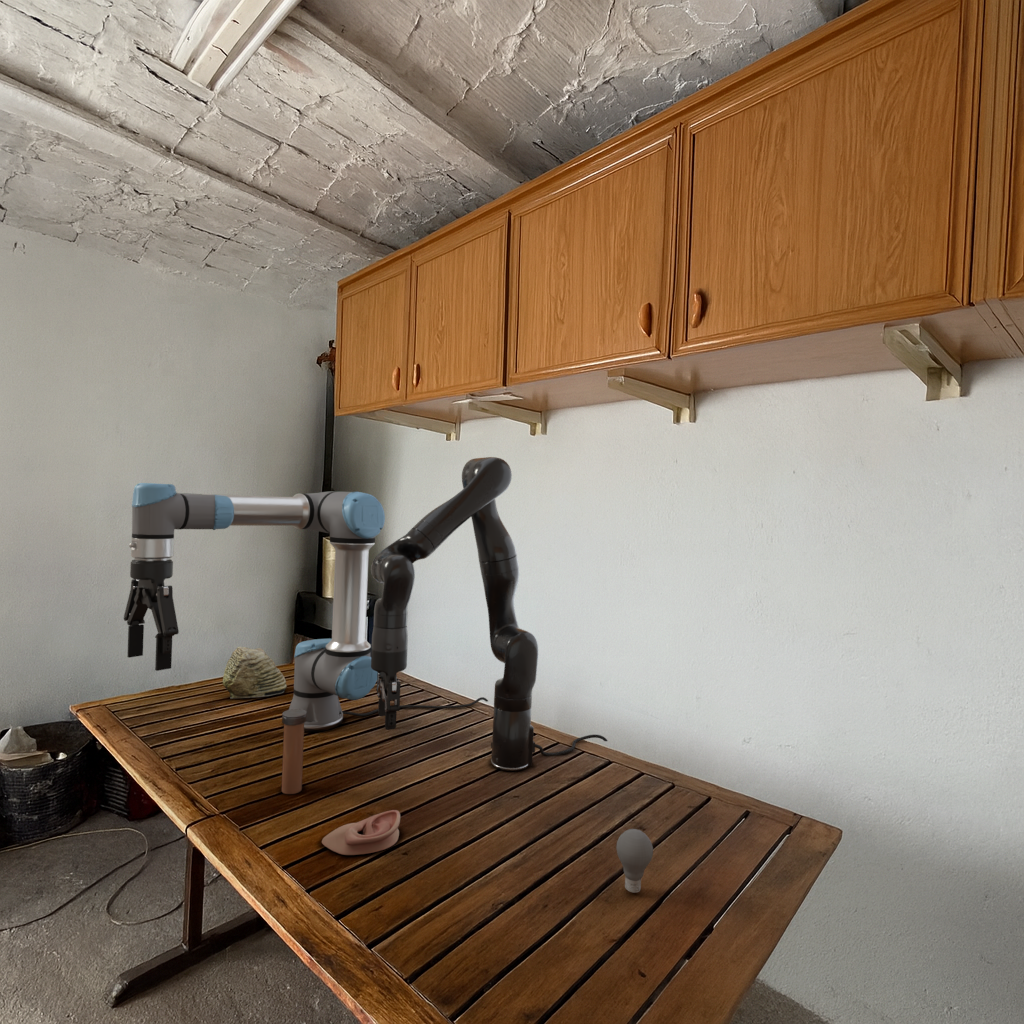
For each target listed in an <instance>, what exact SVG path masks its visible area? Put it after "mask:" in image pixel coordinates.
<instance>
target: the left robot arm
mask: <svg viewBox="0 0 1024 1024" xmlns="http://www.w3.org/2000/svg"><path fill="white" fill-rule="evenodd" d="M385 515H386V513H385V511H384V508H383V505H382V503H381V502H380V501H379V500H378V498H377V497H375V495H373V494H370V493H367V492H363V491H362V492H361V491H337V490H336V491H335V490H333V491H332V490H330V491H321V492H311V493H295V494H294V495H293V496H276V495H275V496H274V495H273V496H272V495H248V494H247V495H246V494H244V495H243V494H220V493H219V494H218V493H217V494H216V493H215V494H214V493H189V492H187V493H186V492H177V491H176V486H175V485H174V484H173V483H152V482H139V483H137V484H136V485H135V486H134V488H133V492H132V501H131V520H132V521H131V542H130V543H128V547H129V548H130V549H131V550H130V556H131V558H133V559H132V560H131V561H130V567H129V568H130V571H129V574H130V575H129V576H130V578H131V581H130V590H129V594H128V598H127V603H126V607H125V610H124V615H123V621H124V622H126V624H127V626H128V629H127V630H128V631H127V658H135V657H142V656H144V635H145V634H144V630H145V625H144V624H145V623H146V621H145V619H144V618H145V616H146V615H147V612H148V609H149V610H151V613H152V618H153V620H154V624H155V627H156V631H157V633H156V635H155V636H154V638H155V661H154V663H155V665H154V668H155V669H154V670H155V671H157V672H159V671H164V670H169V669H172V659H173V657H172V655H173V637H175V636H176V635H179V632H180V631H179V625H178V619H177V615H176V614H177V613H176V609H175V603H174V597H173V595H174V593H173V585H165V580H167V579H171V578H172V577H173V575H174V573H173V572H174V561H173V560H172V559H171V558H173V557H174V554H175V553H174V552H175V530H213V531H215V530H224V529H228V528H230V526H233V527H234V526H237V527H238V526H240V527H243V526H246V527H247V526H249V527H250V526H258V527H259V526H268V527H269V526H276V527H277V526H282V527H284V526H285V527H286V526H287V527H288V526H289V527H290V526H291V527H293V528H294V529H296V530H308V531H309V530H310V531H316V532H319V533H325V534H329V544H330V545H331V546H332V547H333V548H334V550H335V551H334V572H333V573H334V577H333V599H332V625H331V626H332V627H331V638H317V639H308V640H304V641H300V642H299V643H297V645H296V646H295V650H294V655H293V657H294V672H293V673H294V674H293V695H292V696H293V697H292V699H291V702H290V704H289V708H288V710H291V709H302V710H305V711H306V712H307V717H306V722H305V723H304V733H316V732H325V731H329V730H332V729H335V728H337V727H339V726H340V725H342V723H343V722H344V715H346V716H347V715H349V716H355V717H366V716H371V715H374V714H375V713H378V708H375V709H374V710H371V711H369V712H363V713H362V712H361V713H358V712H352V711H343V709H342V706H341V702H340V699H339V698H341V699H342V700H343V699H344V700H348V701H349V700H350V701H357V700H360V699H362V698H364V697H365V696H367V695H368V694H370V692H371V690H372V689H374V687H375V685H377V673H378V672H377V671H374V670H373V669H372V668H371V652H372V644H371V643H370V642H368V640H367V639H366V631H367V607H368V606H367V605H368V604H367V602H368V582H369V581H368V579H369V555H370V553H369V552H370V550H371V548H372V547H374V545H375V544H376V536H378V535H379V534H380V533H381V530H383V528H384V526H385V522H386V521H385V520H386V516H385ZM480 701H484V702H489V699H487V698H486V697H483V696H482V697H479V698H477V699H476V700H474V701H473V702H470V703H466V704H465V703H464V704H458V705H424V704H423V705H422V704H421V705H420V704H418V705H417V704H413V705H412V704H411V705H410V704H408V705H405V704H404V705H401V704H400V709H433V710H434V709H436V710H437V709H441V710H442V709H459V708H460V709H461V708H467V707H471V706H474V705H476V704H477V703H478V702H480Z"/></svg>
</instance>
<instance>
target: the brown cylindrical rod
mask: <svg viewBox="0 0 1024 1024" xmlns="http://www.w3.org/2000/svg"><path fill="white" fill-rule="evenodd" d="M282 742H283V743H282V745H283V746H282V765H281V766H282V767H281V792H282V794H285V795H295V794H298V793H300V792H301V791H302V789H303V767H304V766H303V765H304V743H305V732H304V723H302V724H299V725H286V724H283V739H282Z"/></svg>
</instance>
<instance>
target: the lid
mask: <svg viewBox="0 0 1024 1024" xmlns="http://www.w3.org/2000/svg"><path fill="white" fill-rule="evenodd" d="M281 716H282V717H281V722H282V724H283V725H284V724H286V725H299V724H302V723H305V722H306V717H307V712H306V711H305V710H302V709H291V710H289V709H287V710H284V711H282V715H281Z"/></svg>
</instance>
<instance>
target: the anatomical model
mask: <svg viewBox="0 0 1024 1024" xmlns="http://www.w3.org/2000/svg"><path fill="white" fill-rule="evenodd" d="M400 823H401V813H400V811H399V810H397V809H392V810H391V809H390V810H387V811H383V812H380V813H377V814H373V815H371V816H369V817H367V818H365V819H362V820H360V821H356V822H349V823H346V824H344V825H341V826H339V827H337V828H335V829H334V830H332V831H331V832H329V833H328V834H326V835H325V836H324V837H323V838H322V840H321V844H322V845H323V846H324V847H325V848H327V849H328V850H330V851H332V852H334V853H337V854H339V855H342V856H356V855H357V856H358V855H366V854H371V853H378V852H382V851H383V850H386V849H388V848H390V847H392V846H394V845H395V844H396V843H397V842H398V840H399V836H400V830H399V827H400Z"/></svg>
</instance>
